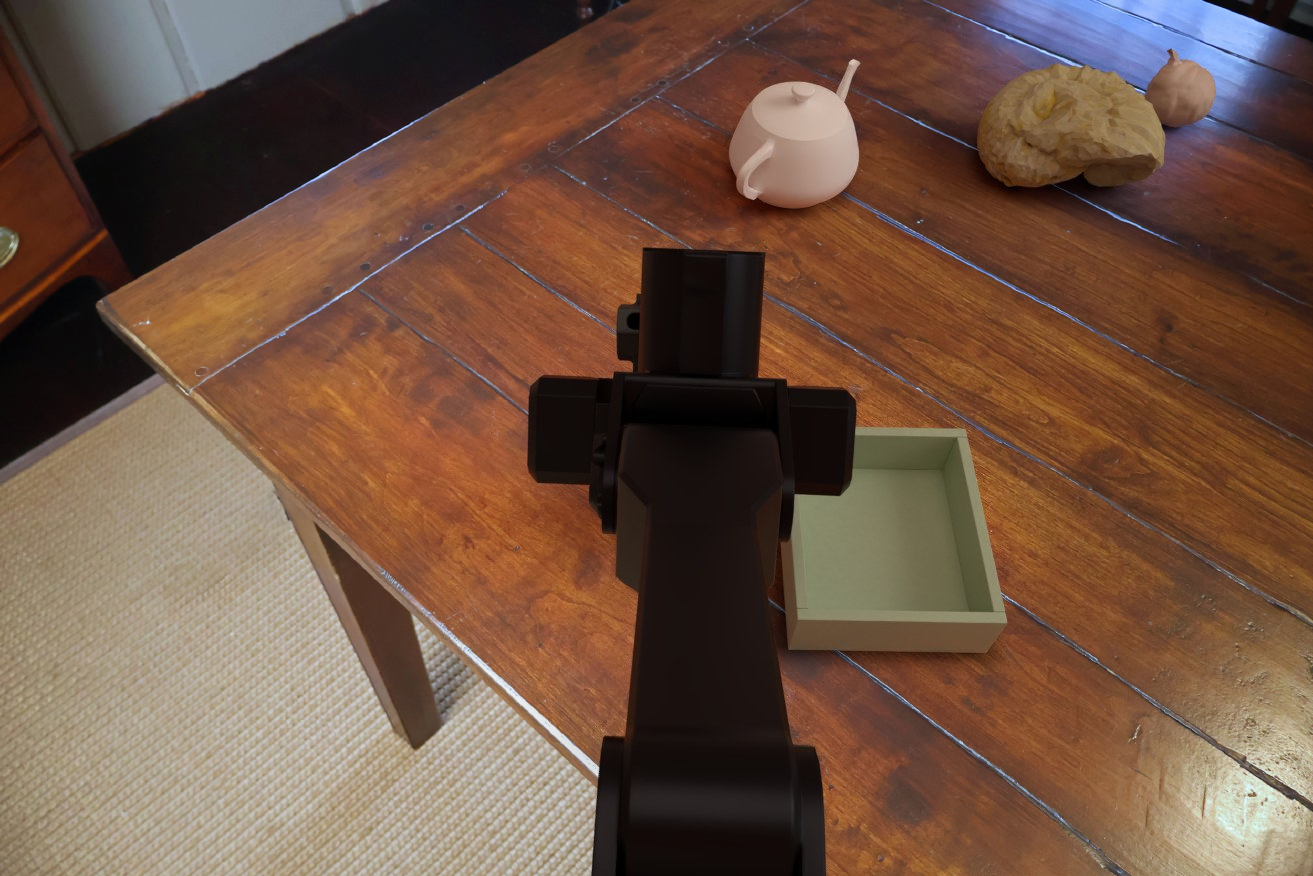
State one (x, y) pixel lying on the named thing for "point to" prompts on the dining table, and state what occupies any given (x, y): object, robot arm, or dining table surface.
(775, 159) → the teapot
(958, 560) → the open box
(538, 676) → the dining table surface
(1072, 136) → the seashell
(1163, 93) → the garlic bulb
